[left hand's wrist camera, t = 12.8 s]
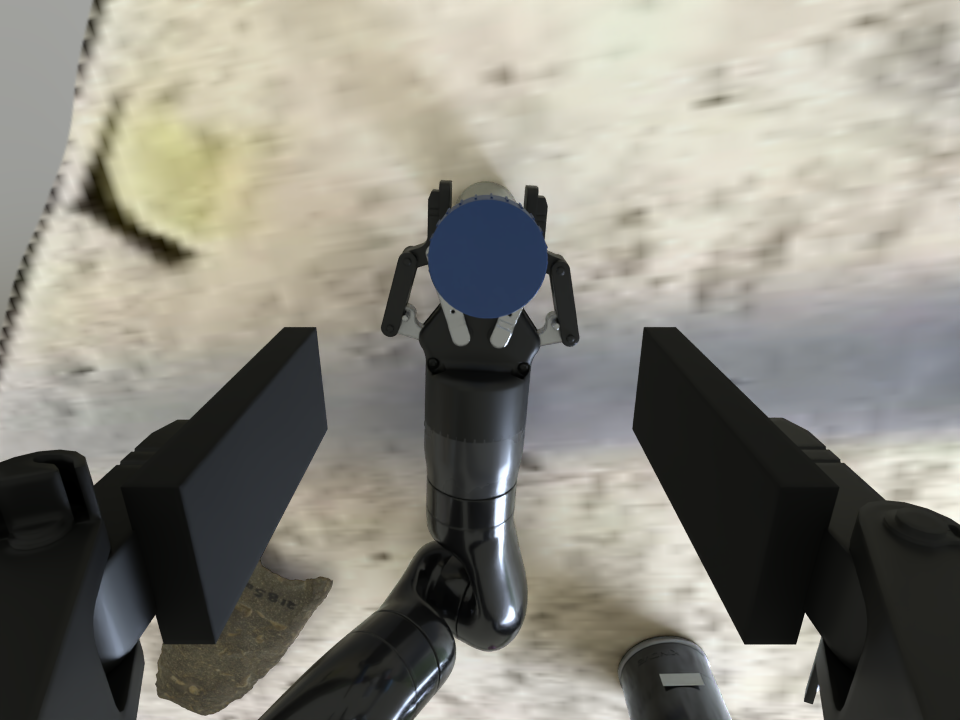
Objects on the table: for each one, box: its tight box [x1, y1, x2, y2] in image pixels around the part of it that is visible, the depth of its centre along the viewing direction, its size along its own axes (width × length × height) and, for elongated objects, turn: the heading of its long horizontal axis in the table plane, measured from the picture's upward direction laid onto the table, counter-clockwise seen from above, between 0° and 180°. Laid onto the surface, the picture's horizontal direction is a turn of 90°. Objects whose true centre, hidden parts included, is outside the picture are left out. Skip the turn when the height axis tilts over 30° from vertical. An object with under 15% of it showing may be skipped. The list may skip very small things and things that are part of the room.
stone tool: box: [155, 560, 333, 716], centre depth 56 cm, size 11×3×25 cm
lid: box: [427, 193, 548, 318], centre depth 28 cm, size 6×6×2 cm
